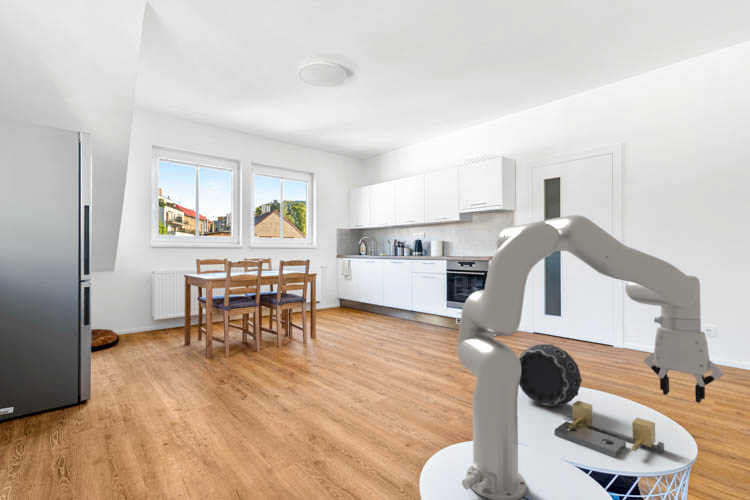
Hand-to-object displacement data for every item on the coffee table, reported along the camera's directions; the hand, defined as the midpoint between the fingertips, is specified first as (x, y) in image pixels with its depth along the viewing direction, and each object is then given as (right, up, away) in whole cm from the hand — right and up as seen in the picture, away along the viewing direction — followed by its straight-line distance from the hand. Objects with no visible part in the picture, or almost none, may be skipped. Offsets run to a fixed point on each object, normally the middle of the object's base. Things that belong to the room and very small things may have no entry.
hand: (682, 396), depth 89 cm
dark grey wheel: (-17, -16, +33) cm, 41 cm away
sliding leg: (-8, -14, +4) cm, 17 cm away
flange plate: (-18, -16, +9) cm, 25 cm away
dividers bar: (-12, -16, +9) cm, 22 cm away
